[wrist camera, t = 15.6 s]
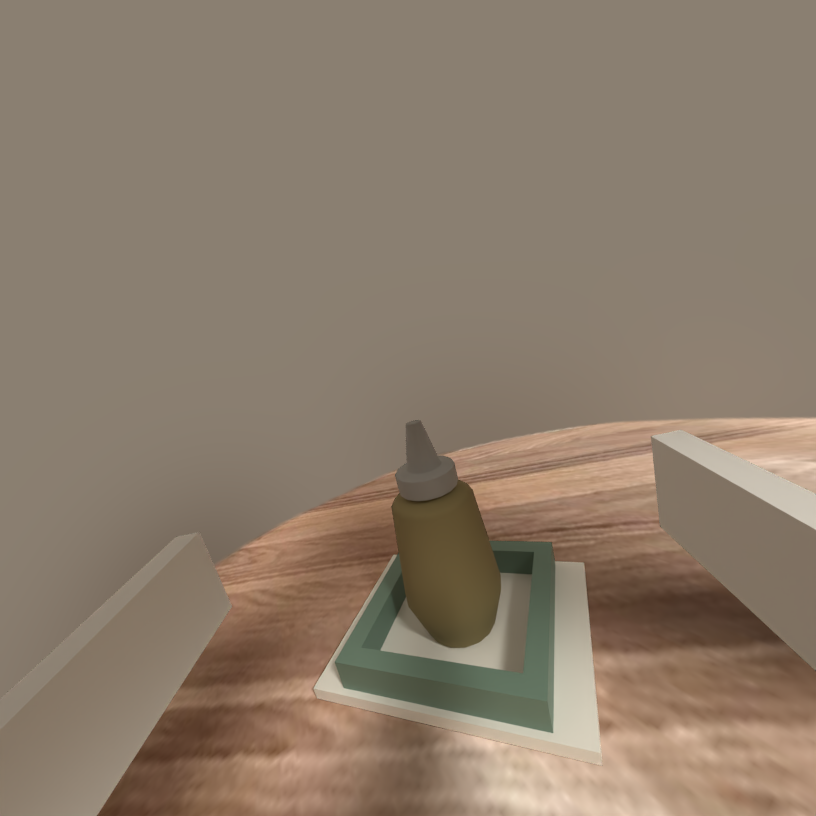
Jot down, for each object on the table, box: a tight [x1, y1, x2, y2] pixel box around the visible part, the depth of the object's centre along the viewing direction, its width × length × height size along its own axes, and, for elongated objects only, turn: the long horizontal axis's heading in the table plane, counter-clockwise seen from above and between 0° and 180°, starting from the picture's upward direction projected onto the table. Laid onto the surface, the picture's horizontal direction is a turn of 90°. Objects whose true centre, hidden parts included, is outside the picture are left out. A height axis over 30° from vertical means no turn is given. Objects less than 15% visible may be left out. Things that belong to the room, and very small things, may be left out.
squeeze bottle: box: [391, 420, 501, 648], centre depth 30 cm, size 8×8×18 cm
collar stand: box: [313, 541, 603, 766], centre depth 32 cm, size 20×16×4 cm
